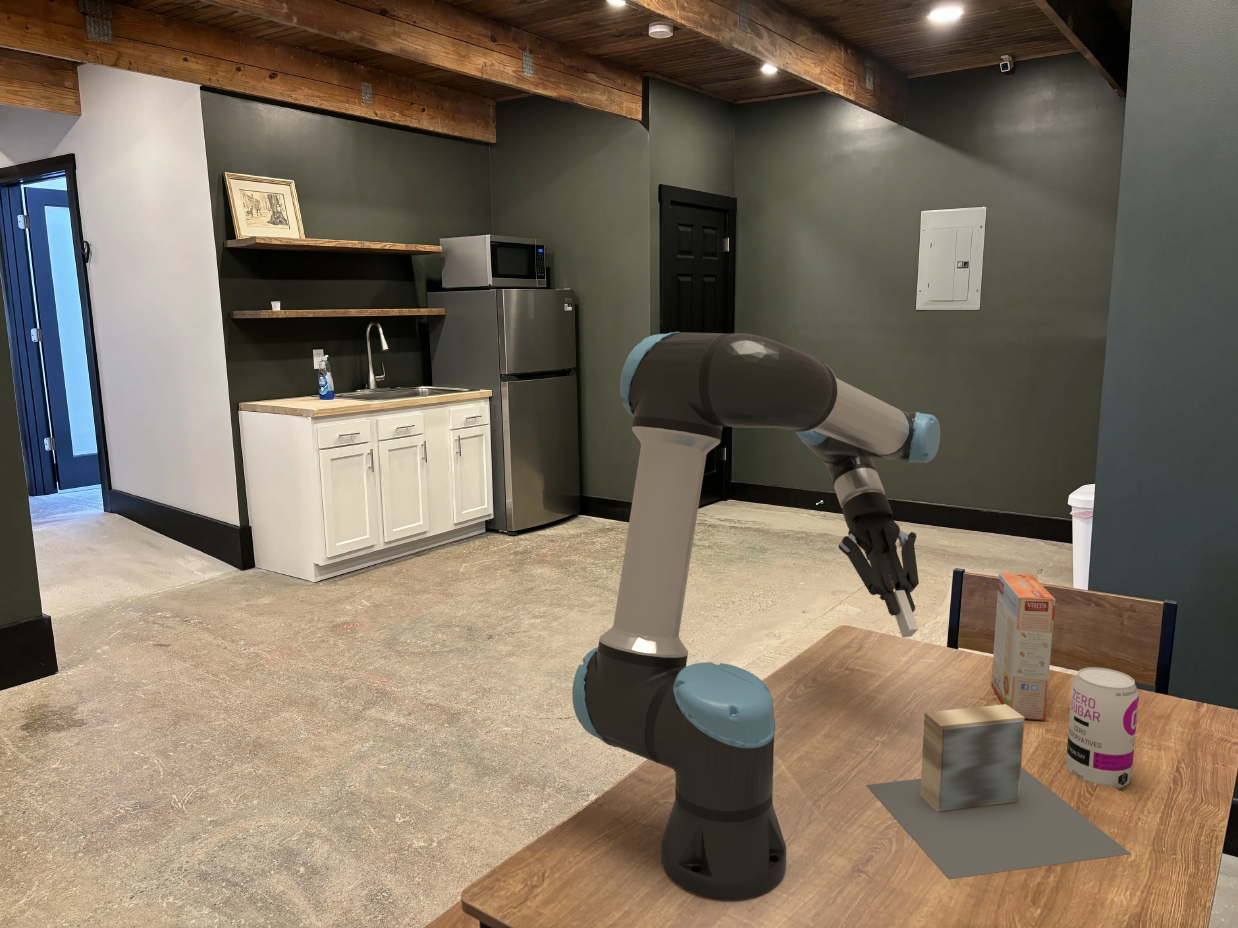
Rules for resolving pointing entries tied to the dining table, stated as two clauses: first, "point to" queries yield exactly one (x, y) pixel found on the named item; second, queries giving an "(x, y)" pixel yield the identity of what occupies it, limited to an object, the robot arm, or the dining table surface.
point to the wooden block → (971, 757)
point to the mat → (997, 830)
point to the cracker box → (1023, 644)
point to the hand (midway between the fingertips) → (910, 632)
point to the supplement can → (1102, 726)
